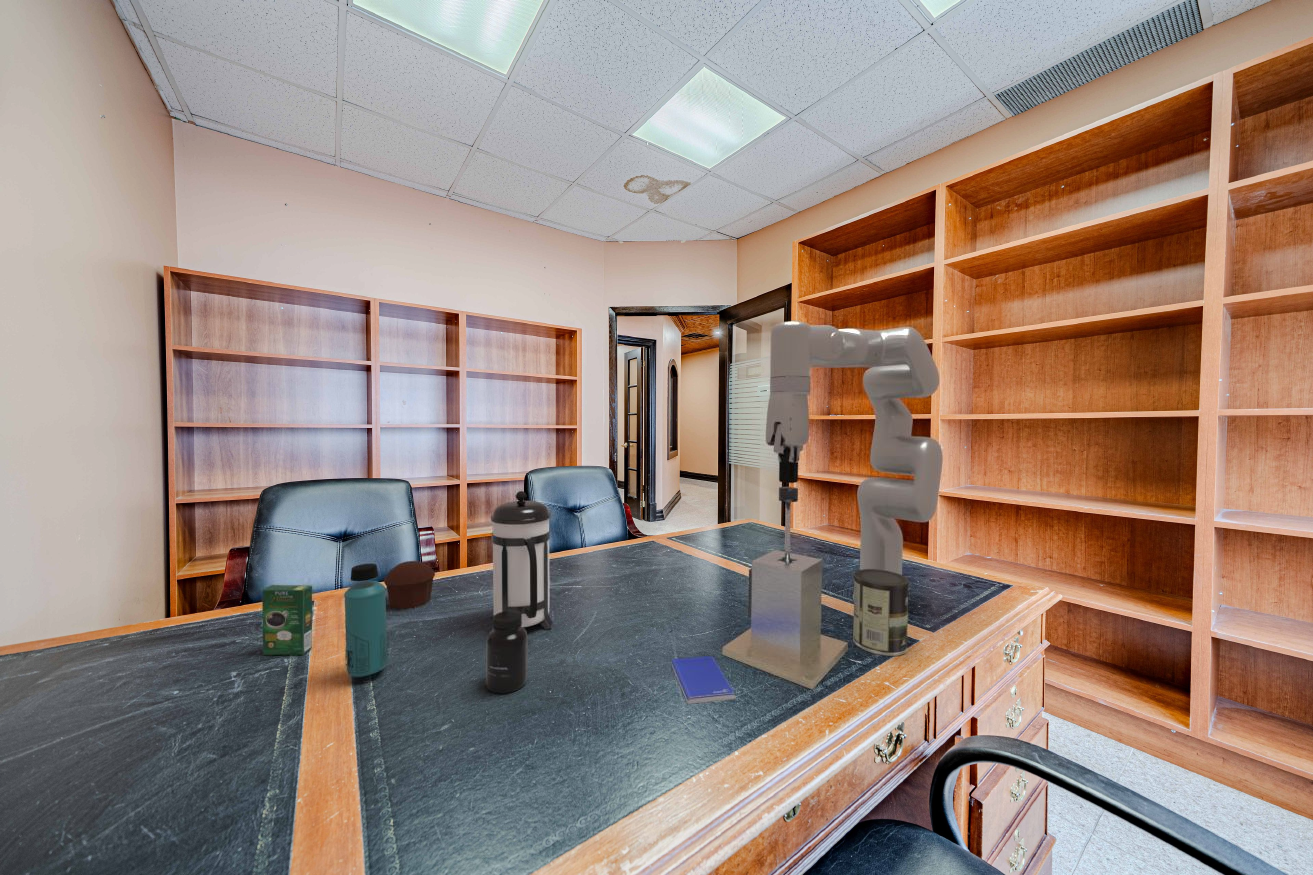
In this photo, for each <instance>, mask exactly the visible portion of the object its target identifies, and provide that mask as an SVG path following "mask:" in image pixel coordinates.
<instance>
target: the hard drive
mask: <svg viewBox="0 0 1313 875" xmlns="http://www.w3.org/2000/svg"><path fill="white" fill-rule="evenodd" d="M670 665H671V668H672V670H673V673H674V674H675V677H676V679H677V682H678V684H679V686H680V689H681V691H682V693H683V697H684V698H685V700H686V703H687V705H692V704H699V703H700V704H701V703H709V702H718V701H719V702H720V701H727V700H736V698H737V696H736V692H735V691H734V689H733V688H732V686H731V684H730V683H729V680H728V679H727V677H726V676H725V674H724V672H723V671H722V669H721V667H720V666H719V664H718V663H717V662H716V660H715V658H714V656H711V655H708V656H698V657H684V658H673V659H672V660H671V664H670Z"/></svg>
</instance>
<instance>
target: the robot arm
mask: <svg viewBox="0 0 1313 875" xmlns="http://www.w3.org/2000/svg"><path fill="white" fill-rule="evenodd" d="M769 364H770V365H769V367H770V368H769V369H770V370H769V371H770V372H769V375H770V377H769V399H768V404H767V412H766V424H765V426H766V427H765V443H766V445H768V446H769V447H770V446H772V447H773V453H774V454H777V459H778V465H779V466H778V467H779V468H778V480H779V482H780V483H789V484H795V483H798V481H799V462H800V456H801V455H800V454H801V452H802V451H803V449H804V446H805V445H806V444H807V443H808V442H809V435H810V434H809V433H810V413H809V410H810V409H809V398H808V396H811V380H812V379H811V375H812V374H811V373H812V372H811V370H812V369H811V368H835V369H837V368H868V369H867V370H865V372H864V373H863V377H862V386H863V389H864V391H865V393H866V395H867V397H868V399H869V402H870V403H871V407H872V408H873V411H874V415H875V416H874V417H875V422H874V428H873V436H872V441H871V442H872V443H871V447H870V456H869V459H870V460H869V461H870V465H871V467H872V469H874V470H875V471H877V472H880V473H884V474H892V475H902V476H904V475H905V476H913V480H907V479H898V478H890V477H889V478H888V477H881V476H880V477H878V476H876V477H869V478H866V479H864V480H863V481H861V482H860V484H859V485H858V488H857V492H856V493H857V495H856V497H857V503H858V510H859V516H860V519H859V520H860V548H859V550H860V554H859V570H863V569H878V570H885V571H890V572H894V573H898V574H900V575H903V553H904V552H903V546H904V545H903V544H904V538H903V532H902V529H901V527H900V526H899V524H898V522H897V520H896V519H898V520H904V521H908V522H909V521H911V522H917V523H927V522H930V520H932V519H933V517H934V516H935V514H936V511H937V507H938V501H939V492H940V484H941V477H942V471H943V470H942V469H943V458H944V457H943V455H944V454H943V449H942V447H941V444H940V443H939V441H937V440H936V439H934V438H933V437H927V436H913V435H912V431H913V430H912V429H913V424H914V423H913V421H914V420H913V416H912V413H911V411H910V410H909V408H908V407H907V406H906V405H905V404H904V402H903V401H902V400H901V399H911V398H912V399H913V398H914V399H915V398H927V397H929V396H932V395H934V394H935V393H936V391H937V390H938V389H939V385H940V373H939V371H938V370H939V369H938V367H937V364H936V362H935V360H934V358H933V356H932V354H931V352H930V349H929V347H928V345H927V343H926V341H925V339H924V337H923V336H922V335H921V333H920V332H919V331H918V330H917V329H915V328H914V327H912V326H901V327H895V328H888V329H880V330H871V329H870V330H869V329H861V328H851V327H849V328H840V329H839V328H837V327H835V326H833V325H829V324H822V325H820V324H809V323H807V322H803V321H797V320H793V321H783V322H779V323H776V324H775V325H774V326H773V327H772V328H771V331H770V363H769ZM852 600H853V601H854V592H853V594H852Z"/></svg>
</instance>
